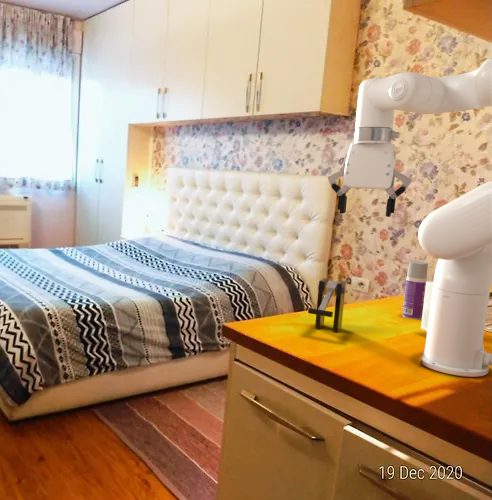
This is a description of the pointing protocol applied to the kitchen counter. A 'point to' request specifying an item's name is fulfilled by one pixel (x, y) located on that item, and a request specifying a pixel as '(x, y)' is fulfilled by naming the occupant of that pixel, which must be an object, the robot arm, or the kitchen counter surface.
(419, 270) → the container
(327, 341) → the kitchen counter surface
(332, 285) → the lever
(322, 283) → the bracket
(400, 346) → the kitchen counter surface
